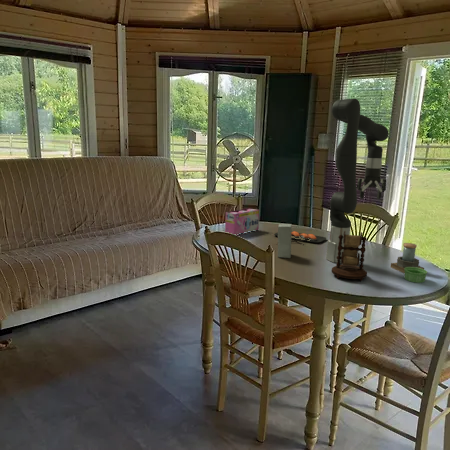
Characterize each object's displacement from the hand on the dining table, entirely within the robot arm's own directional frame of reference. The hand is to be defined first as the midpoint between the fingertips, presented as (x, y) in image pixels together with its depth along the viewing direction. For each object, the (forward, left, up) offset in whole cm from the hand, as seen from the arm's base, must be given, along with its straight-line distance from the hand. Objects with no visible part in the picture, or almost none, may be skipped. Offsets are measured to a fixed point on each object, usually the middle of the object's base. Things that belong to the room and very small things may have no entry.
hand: (370, 198), depth 210 cm
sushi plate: (-26, +29, -29) cm, 48 cm away
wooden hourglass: (-33, -31, -28) cm, 53 cm away
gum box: (-48, +55, -28) cm, 78 cm away
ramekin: (-8, -42, -28) cm, 52 cm away
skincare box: (-46, +4, -28) cm, 54 cm away
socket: (-1, -31, -28) cm, 42 cm away
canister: (-1, -31, -26) cm, 40 cm away
